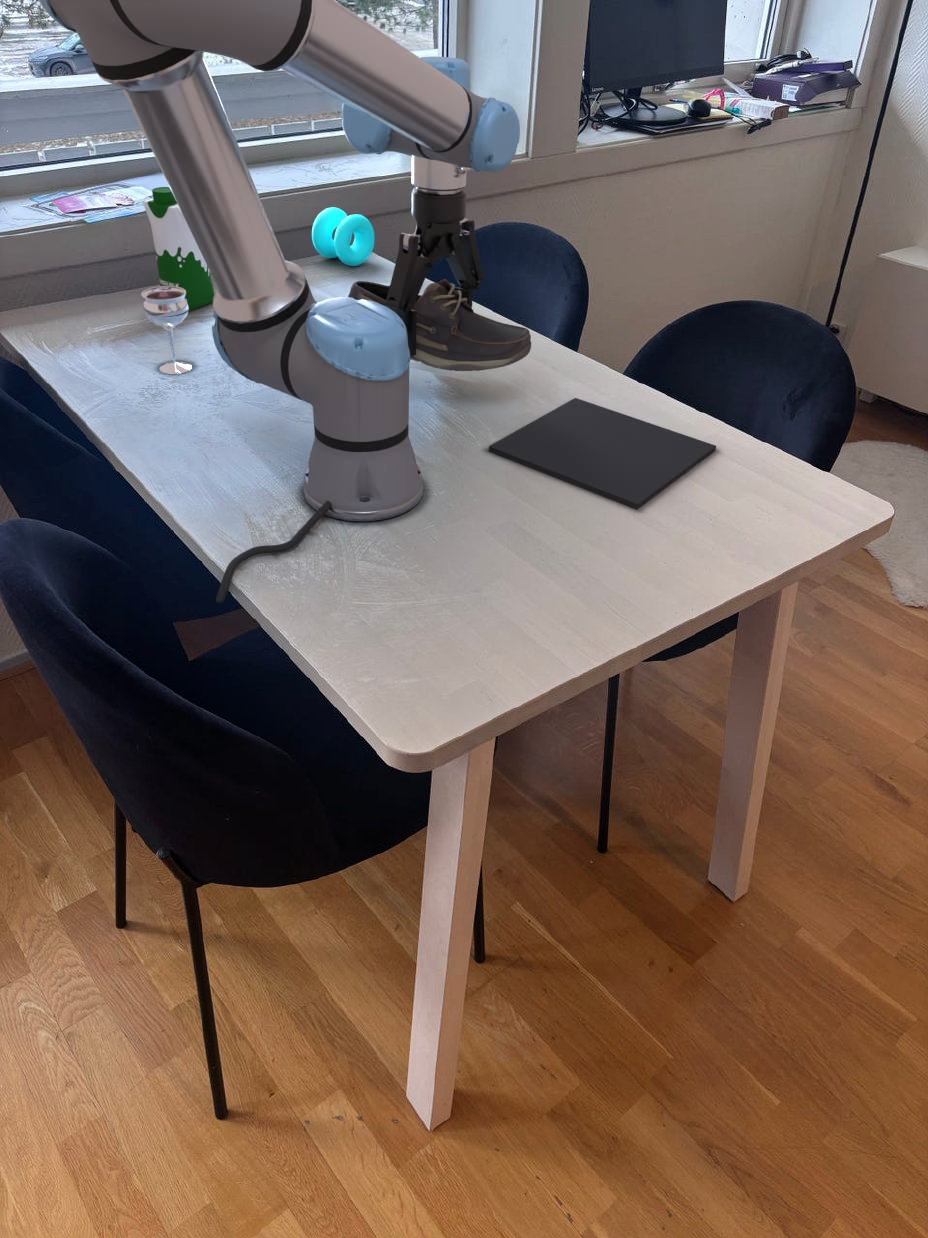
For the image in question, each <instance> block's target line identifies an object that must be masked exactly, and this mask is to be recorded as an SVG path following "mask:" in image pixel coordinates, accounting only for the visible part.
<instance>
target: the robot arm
mask: <svg viewBox="0 0 928 1238" xmlns="http://www.w3.org/2000/svg"><path fill="white" fill-rule="evenodd" d="M38 2H39V4H40V5H41V7H42V8H43V10H44V11H45V12H46V14H48V15H49V16H50V17H51V18H52V19H53V20H54V21H55V22H57V23H58V24H59V25H60V26H61V27H63V28H64V29H66V30H67V31H70V32H73V33H75V34H77V36H78V37H79V39H80V41H81V43H82V46H83V47H84V50H85V52H86V53H87V55H88V57H89V59H90V61H91V63H92V65H93V67H94V70H95V71H96V74H97V75H98V77H99V78H100V79H101V80H102V81H104V82H105V83H108V84H111V85H113V86H115V87H118V88H119V89H121V90H122V91H123V93H124V95H125V97H126V100H127V101H128V103H129V107H131V110H132V113H133V114H134V116H135V118H136V120H137V122H138V124H139V126H140V128H141V131H142V132H143V135H144V137H145V139H146V141H147V143H148V145H149V147H150V149H151V151H152V154H153V155H154V157H155V160H156V162H157V164H158V166H159V168H160V170H161V172H162V175H163V176H164V178H165V180H166V182H167V184H168V187H170V189H171V191H172V193H173V195H174V197H175V199H176V201H177V203H178V206H179V208H180V210H181V212H182V214H183V216H184V218H185V220H186V222H187V224H188V226H189V228H190V231H191V233H192V235H193V237H194V239H195V241H196V243H197V245H198V247H199V249H200V251H201V254H202V256H203V258H204V260H205V262H206V264H207V266H208V268H209V270H210V274H211V277H212V278H213V279H212V280H213V281H214V283H215V284H216V287H217V288H216V290H215V291H214V293H215V295H214V298H213V302H212V305H213V309H214V310H213V314H212V318H213V319H214V324H212V325H211V333H212V338H213V343H214V347H215V349H216V350H217V352H218V354H219V356H220V358H221V359H222V360H223V361H224V363H225V364H226V365H227V366H228V367H230V369H232V370H233V371H234V372H236V373H238V374H239V375H240V376H242V377H244V378H245V379H247V380H249V381H251V382H255V383H256V384H260V385H262V386H263V385H264V386H265V387H267V388H272V389H274V390H275V391H278V392H281V393H283V394H285V395H288V396H291V397H293V398H295V399H298V400H300V401H302V402H305V403H306V404H307V403H308V404H309V405H311V406H312V415H313V428H314V429H313V430H314V439H313V444H312V447H311V451H310V454H309V459H308V466H307V467H306V469H305V472H304V475H303V495H304V498H305V501H306V502H307V503H308V505H309V506H310V507H311V508H312V509H313V510H315V512H314V513H313V515H312V516H311V517H310V518H309V519H308V520H307V521H306V523H304V524H303V526H302V527H301V528H300V529H299V530H298V531H297V532H296V533H295V534H294V536H293V537H292V538H291V539H290V540H288V541H286V542H282V543H278V544H269V545H267V544H266V545H258V546H254V547H250V548H249V549H246V550H245V551H243V552H241V553H240V554H238V555H237V556H235V557H234V558H233V559H232V560H230V562H229V564H228V565H227V566H226V569H225V571H224V574H223V576H222V579H221V583H220V585H219V588H218V591H217V593H216V594H217V595H216V597H215V601H216V603H222V602H224V601H225V600H226V598H227V594H228V591H229V588H230V585H231V583H232V580H233V576H234V574H235V572H236V570H237V569H238V567H239V566H240V565H241V564H242V563H244V562H246V561H247V560H249V559H251V558H254V557H255V556H258V555H265V554H278V553H283V552H287V551H290V550H292V549H293V548H295V547H296V546H297V545H299V544H300V542H302V540H303V539H304V537H305V536H306V535H307V534H308V533H309V532H310V531H311V530H312V529H313V528H314V527H315V525H316V524H317V523H318V522H319V521H320V520H321V519H322V518H323V517H324V515H325V516H327V517H329V518H333V519H338V520H342V521H343V520H344V521H348V522H349V521H350V522H374V521H381V520H386V519H391V518H395V517H398V516H400V515H402V514H405V513H406V512H409V511H410V510H412V509H413V508H414V507H416V505H418V504H419V502H420V501H421V499H422V497H423V494H424V493H423V492H424V480H423V474H422V471H421V468H420V466H419V464H418V463H417V458H416V455H415V451H414V448H413V445H412V442H411V439H410V434H409V433H410V432H409V431H410V429H409V428H410V427H409V423H410V422H409V419H410V417H409V416H410V363H411V359H410V355H411V356H414V355H416V324H417V310H414V309H412V308H413V306H414V304H415V301H416V299H417V297H418V295H420V292H421V289H422V287H423V285H424V283H425V280H426V279H427V275H428V274H429V271H430V269H431V268H433V267H434V266H435V264H436V262H438V261H440V260H442V259H445V260H446V262H447V264H448V266H449V268H450V270H451V273H452V274H453V276H454V278H455V280H456V282H457V284H458V285H459V286H455V289H454V290H455V291H458V290H460V291H461V298H467V304H468V305H469V306H470V307H471V308H472V309H473V302H474V301H473V298H474V291H478V290H479V289H480V287H481V284H480V283H482V282H483V280H484V273H483V272H484V271H483V267H482V264H481V259H480V255H479V254H480V253H479V250H478V246H477V245H478V244H477V241H476V237H475V229H476V227H475V221H474V219H469V218H466V211H467V210H466V208H467V192H466V191H465V189H464V188H465V187H466V186H467V178H468V177H467V175H468V174H467V173H468V169H470V170H471V169H472V170H473V171H475V172H481V171H483V172H488V173H499V172H501V171H503V170H505V169H506V168H507V167H508V166H509V165H510V164H511V162H512V161H513V159H514V158H515V156H516V153H517V149H518V146H519V144H520V139H521V138H520V137H521V123H520V119H519V116H518V113H517V111H516V110H515V108H514V107H513V106H512V105H511V104H510V103H508V102H505V101H501V100H497V99H496V98H494V97H488V98H487V97H483V96H479V95H478V94H475V93H473V92H472V91H471V66H469V64H468V62H467V61H466V60H464V59H461V58H456V57H450V56H421V57H420V56H418V55H416V54H415V53H414V52H412V51H411V50H409V49H408V48H406V47H405V46H403V45H402V44H400V43H399V42H397V41H396V40H394V39H393V38H391V37H390V36H389V35H387V34H385V33H384V32H383V31H382V30H380V29H378V28H377V27H375V26H374V25H372V24H371V23H369V22H367V21H366V20H365V19H364V18H362V17H361V16H359V15H357V14H356V13H355V12H353V11H352V10H350V9H349V8H347V7H346V6H344V5H343V4H341V3H340V2H338V1H336V0H38ZM205 53H207V54H213V55H218V56H222V57H225V58H226V57H227V58H229V59H233V60H236V61H238V62H242V63H243V64H245V65H248V66H249V67H251V68H253V69H254V70H257V71H259V72H262V73H273V72H278V71H279V70H282V71H284V72H285V73H287V74H289V75H291V76H293V77H294V78H297V79H298V80H300V81H302V82H304V83H306V84H307V85H310V86H312V87H313V88H315V89H316V90H318V91H320V92H323V93H324V94H326V95H328V96H329V97H332V98H333V99H335V100H336V101H337V100H338V101H339V102H341V103H342V107H341V125H342V130H343V133H344V135H345V138H346V140H347V141H348V143H349V144H350V145H351V147H352V148H353V149H354V150H356V151H357V152H359V153H361V154H363V155H370V154H371V155H372V154H376V155H382V154H384V153H386V152H391V153H398V154H402V155H408V156H411V184H412V185H413V186H414V188H413V189H412V190H411V216H412V218H414V220H415V222H416V225H415V231H414V233H410V234H409V233H405V232H401V233H400V234H399V238H398V252H397V256H396V260H395V263H394V267H393V272H392V276H391V279H390V284H389V286H390V287H389V291H388V295H387V299H386V305H387V306H389V307H392V308H395V309H396V310H397V314H396V313H395V312H394V311H392V310H391V309H389V308H387V307H386V306H383V305H381V304H379V303H376V302H373V301H369V300H365V299H361V300H355V299H353V298H349V297H348V296H346V297H331V298H326V299H324V300H320V301H319V302H317V300H316V299H315V297H314V295H313V293H312V291H311V288H310V285H309V282H308V280H307V278H306V275H305V272H304V271H303V270H302V268H301V267H300V266H299V265H298V264H296V263H294V262H292V261H289V260H286V258H285V257H284V254H283V252H282V249H281V246H280V243H279V242H278V239H277V238H276V235H275V231H274V229H273V227H272V224H271V222H270V219H269V217H268V215H267V212H266V209H265V207H264V205H263V202H262V200H261V198H260V194H259V192H258V190H257V188H256V185H255V181H254V180H253V177H252V175H251V172H250V170H249V168H248V165H247V162H246V161H245V158H244V155H243V154H242V150H241V148H240V145H239V143H238V140H237V137H236V136H235V133H234V130H233V128H232V126H231V123H230V121H229V119H228V116H227V114H226V111H225V108H224V105H223V103H222V101H221V99H220V96H219V94H218V91H217V89H216V86H215V84H214V82H213V78H212V75H211V74H210V71H209V68H208V66H207V64H206V62H205V59H204V54H205ZM395 298H396V299H395ZM406 299H407V302H406Z"/></svg>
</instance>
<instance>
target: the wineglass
mask: <svg viewBox="0 0 928 1238" xmlns="http://www.w3.org/2000/svg"><path fill="white" fill-rule="evenodd" d="M185 294H186V290H184V289H183V288H180V287H175V286H160V285H158V286H153V287H149V288H146V289H145V290H143V291H142V292H141V295H140V296H141V297H142V298H143V299H144V300H143V304H142V305H143V306H142V309H143V312H144V314H145V316H146V318H147V319H148V320H149V321H151V323H153V324H154V325H156V326H159V327H162V328H163V329H164V330H166V332H167V336H168V342H169V347H170V351H171V357H172V361H171V362H167V363H164V364H162V365H160V367H159V371H160V372H161V373H163V374H168V375H180V374H184V373H187V372H189V371H190V370H191V369H192V365H191V364H190V363H189V362H185V361H177V359H176V352H175V342H174V332H173V330H175V327H176V326H178V325H180V324H182V323H183V321H184V320H185V319H186V317H187V316H188V313H189V311H188V309H189V307H188V302H187V300H186V298H185Z"/></svg>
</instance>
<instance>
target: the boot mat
mask: <svg viewBox="0 0 928 1238" xmlns="http://www.w3.org/2000/svg"><path fill="white" fill-rule="evenodd" d="M716 450H717V445H715V444H712V443H710V442H706V441H703V440H702V439H701V440H700V439H698V438H695V437H692V436H689V435H686V434H684V433H680V432H677V431H674V430H671V429H669V428H665V427H663V426H659V425H657V424H654V423H651V422H648V421H645V420H642V419H639V418H635V417H632V416H630V415H627V414H624V413H622V412H618V411H615V410H613V409H610V408H607V407H605V406H601V405H597V404H595V403H592V402H589V401H586V400H583V399H581V398H578V397H574V398H572V399H570V400H568V401H567V402H565V403H564V404H562V405H559V406H558V407H557V408H555V409H552V410H551V411H549V412H547V413H545V414H544V415H542V416H540V417H538V418H536V419H535V420H533V421H531V422H529V423H528V424H526V425H524V426H522V427H521V428H518V429H517V430H515V431H514V432H512V433H510V434H508V435H506V436H505V437H503V438H501V439H499V440H497V441H495V442H494V443H491V444H490V445H489V446H488V452H490V453H493V454H494V455H498V456H499V457H503V458H505V459H508V460H510V461H513V462H515V463H518V464H520V465H523V466H526V467H527V468H531V469H533V470H536V471H538V472H541V473H543V474H546V475H548V476H550V477H554V478H556V479H558V480H561V481H564V482H566V483H569V484H571V485H574V486H575V487H579V488H581V489H583V490H587V491H589V492H592V493H594V494H596V495H599V496H602V497H604V498H606V499H608V500H609V499H610V500H612V501H615V502H617V503H619V504H621V505H625V506H627V507H629V508H632V509H635V510H638V509H640V508H641V507H643V506H644V505H645V504H647V503H648V502H649V501H650V500H652V499H653V498H654V497H656V496H658V495H659V494H660V493H661V492H662V491H664V490H665V489H667V488H668V487H669V486H670V485H672V484H673V483H675V482H676V481H677V480H678V479H680V478H681V477H682V476H684V475H686V473H688V472H689V471H690V470H692V469H693V468H695V467H696V466H698V464H700V463H701V462H702V461H704V460H705V459H707V458H708V457H709V456H711V455H712V454H714V452H715V451H716Z"/></svg>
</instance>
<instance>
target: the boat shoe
mask: <svg viewBox="0 0 928 1238" xmlns="http://www.w3.org/2000/svg"><path fill="white" fill-rule="evenodd" d="M389 287H390V285H386V284H381V283H379V282H373V281H368V280H367V281H365V280H357V281H355V282H353V283H352V285H351V287H350V290H349V293H348V295H347V297H349V298H353V299H355V300H361V299H365V300H369V301H373V302H376V303H379V304H381V305H383V306H386V307H387V308H389V309H391V310H392V311H394V312H395V313H396V314H397V310H396V309H395V308H392V307H389V306H387V305H386V299H387V295H388V291H389ZM455 287H456V284H454V283H451V282H450V281H449V280H448V279H447V278H443V279H441V280H440V281H439V282H431V283H429V284H428V285H427V286H426V287H425V289H424V291H423V292H422V294H421V295H420V294H418V297H417V299H416V301H415V304H414V306H413V308H412V309H414V310H417V324H416V355H414V356H411V355H410V361H411V360H412V361H415V362H419V363H422V364H423V365H425V366H427V367H428V366H429V367H431V368H435V369H440V370H443V371H449V372H450V371H453V372H454V371H455V372H477V371H486V370H495V369H500V368H503V367H504V368H505V367H508V366H510V365H512V364H515V363H517V362H519V361H521V360H523V359H525V358H526V357H527V356H528V355H529V353H530V352H531V350H532V341H531V340H532V335H531V333H530V330H529V329H528V328H526V327H523V326H519V325H513V324H509V323H503V322H501V321H497V320H495V319H492V318H489V317H486V316H484V315H480V314H478V313H476V312H474V309H473V307H472V308H471V307H470V306H469V305H468V304H467V298H461V291H460V290H458V291H455ZM395 299H396V298H395ZM406 302H407V299H406Z"/></svg>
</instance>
